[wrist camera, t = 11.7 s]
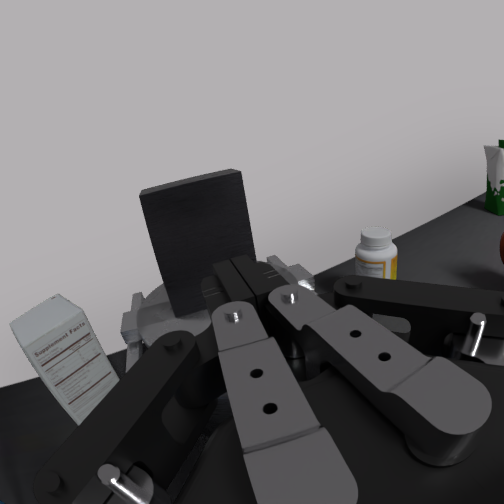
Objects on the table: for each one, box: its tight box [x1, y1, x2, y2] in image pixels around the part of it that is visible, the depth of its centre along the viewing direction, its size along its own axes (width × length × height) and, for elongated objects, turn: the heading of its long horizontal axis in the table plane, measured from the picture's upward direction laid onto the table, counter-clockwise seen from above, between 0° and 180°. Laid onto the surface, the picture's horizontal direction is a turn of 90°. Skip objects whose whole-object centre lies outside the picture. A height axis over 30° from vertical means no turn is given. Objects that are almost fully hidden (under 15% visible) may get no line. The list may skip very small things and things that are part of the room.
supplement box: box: [10, 294, 120, 425], centre depth 25 cm, size 7×7×13 cm
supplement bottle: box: [355, 227, 397, 280], centre depth 36 cm, size 6×6×10 cm
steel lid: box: [121, 169, 315, 348], centre depth 22 cm, size 14×16×11 cm
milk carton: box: [484, 140, 504, 216], centre depth 56 cm, size 9×9×20 cm
